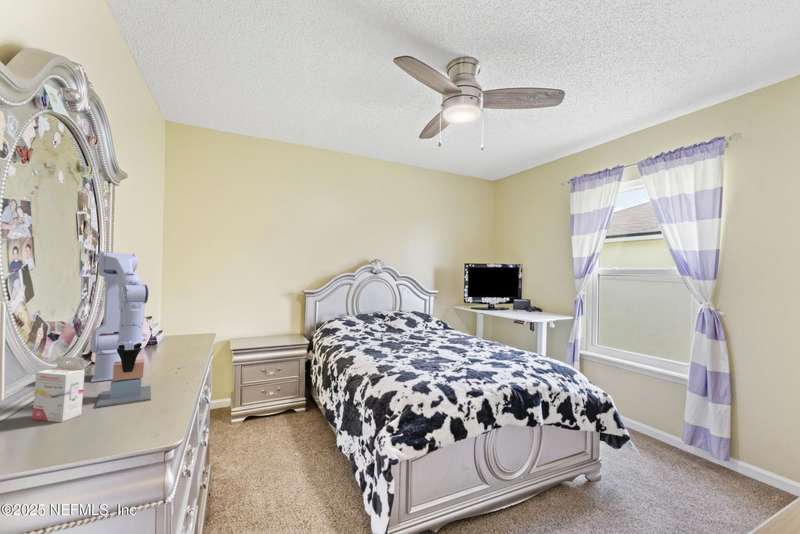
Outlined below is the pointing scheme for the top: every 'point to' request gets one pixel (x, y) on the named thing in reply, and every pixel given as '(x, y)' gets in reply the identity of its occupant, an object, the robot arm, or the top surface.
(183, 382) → the top surface
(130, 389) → the lower brick
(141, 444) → the top surface
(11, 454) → the top surface
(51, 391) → the ink cartridge box
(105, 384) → the top surface
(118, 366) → the upper brick
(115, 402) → the baseplate
